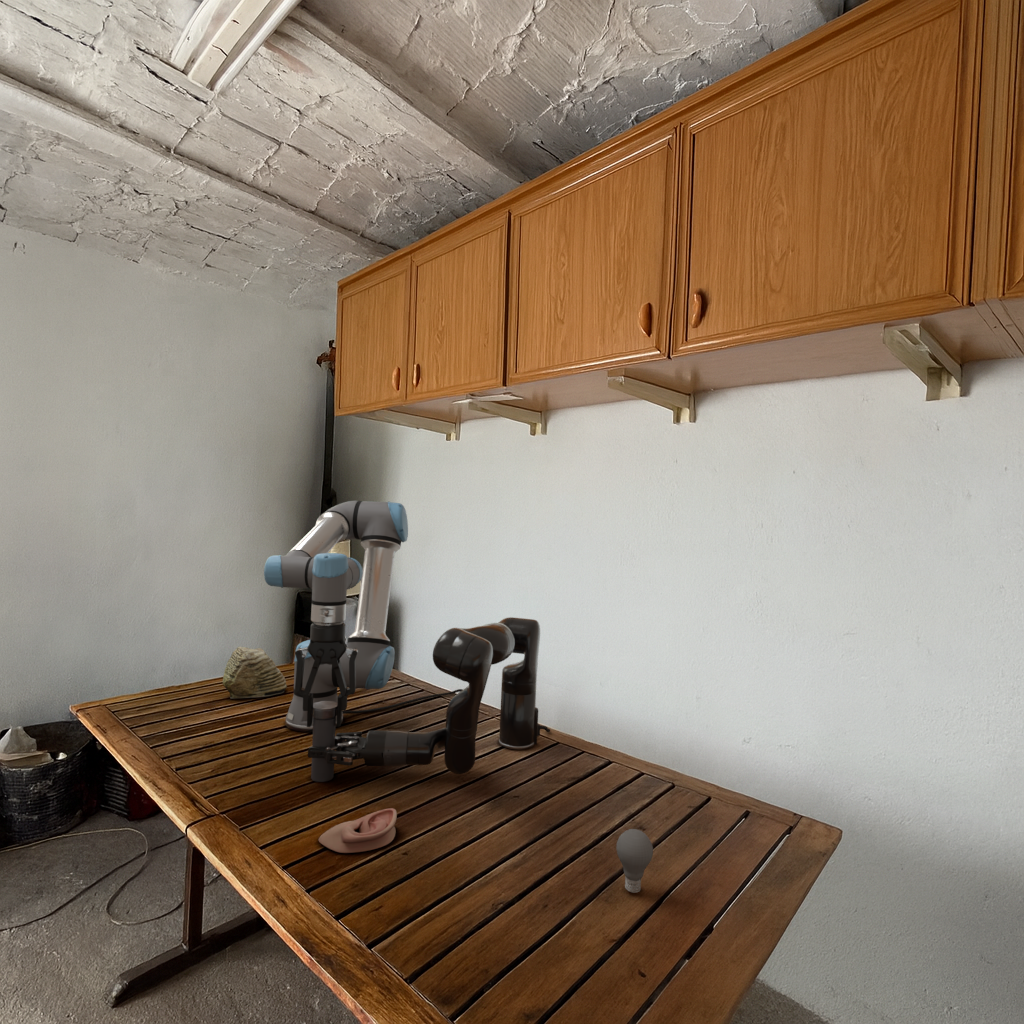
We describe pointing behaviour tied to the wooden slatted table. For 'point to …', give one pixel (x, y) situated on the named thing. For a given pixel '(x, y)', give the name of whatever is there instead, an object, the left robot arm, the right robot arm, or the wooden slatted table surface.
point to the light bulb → (634, 857)
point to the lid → (324, 709)
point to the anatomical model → (362, 833)
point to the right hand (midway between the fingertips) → (311, 747)
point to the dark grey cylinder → (323, 738)
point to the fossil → (252, 674)
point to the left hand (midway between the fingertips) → (324, 724)
